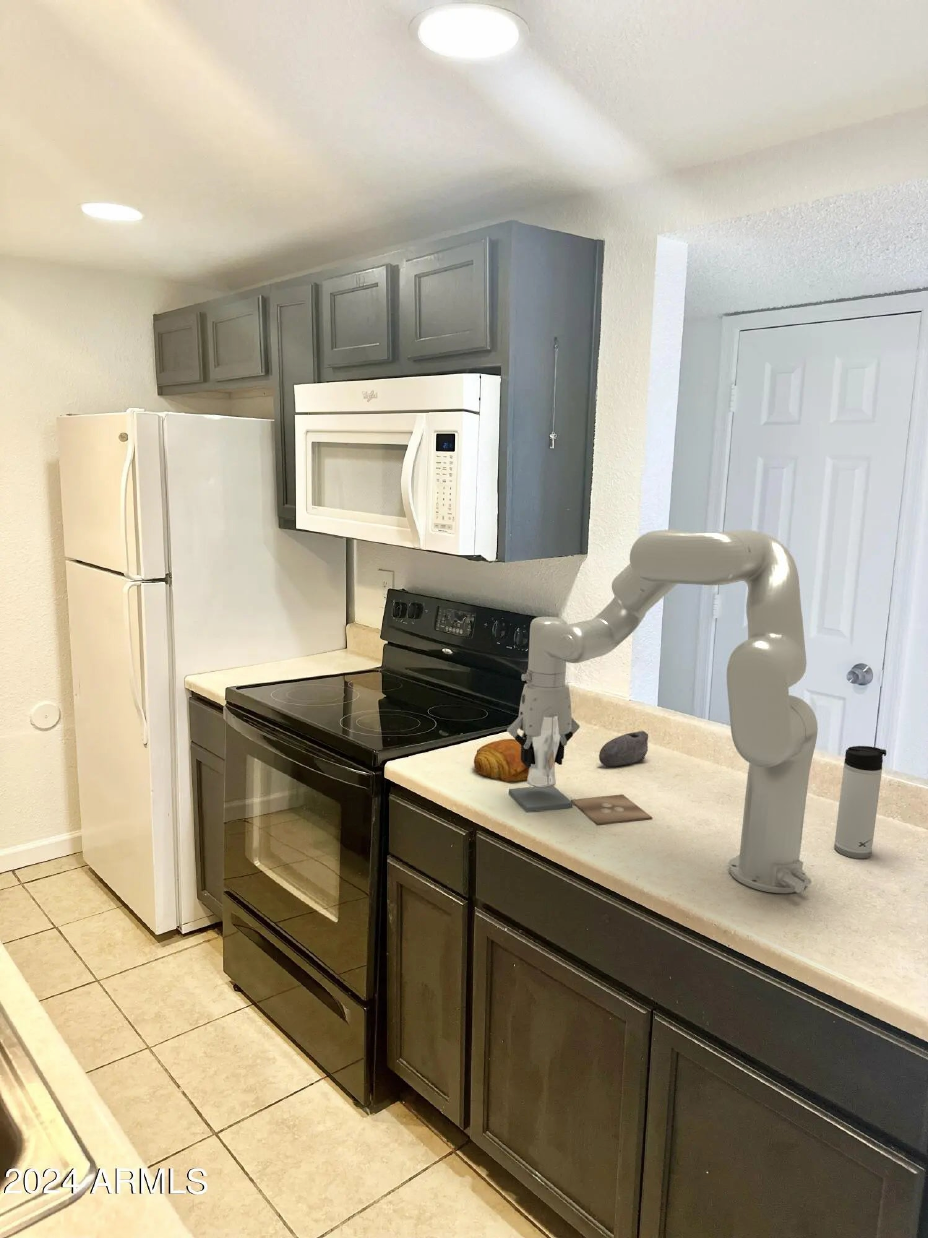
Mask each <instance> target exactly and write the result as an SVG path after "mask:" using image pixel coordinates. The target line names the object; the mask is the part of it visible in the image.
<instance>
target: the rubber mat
mask: <svg viewBox="0 0 928 1238" xmlns="http://www.w3.org/2000/svg"><path fill="white" fill-rule="evenodd" d="M508 795H509V796H510V797H512V799H513V800H514V801H515V802H516V803H517V804H518V805H519V806H520V807H521V808H522V809H523V810H524V811H525V812H526V813H534V812H543V811H544V812H545V811H553V810H561V809H563V810H564V809H571V808H573V805H574V804H573V803H572V802H571V799H569V798H568V797H567V796H566V795H564V794H563V792H561V791H560V790H559V789H558V788H557V787H555V785H554V786H552V787H548V788H539V787H534V786H527V787H515V788H508Z"/></svg>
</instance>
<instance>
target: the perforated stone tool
mask: <svg viewBox="0 0 928 1238" xmlns="http://www.w3.org/2000/svg"><path fill="white" fill-rule="evenodd" d="M648 740H649V733H647V732H646V731H644V730H641V731H640V730H639V731H636V732H634V731H633V732H630V733H629V732H628V733H625V734H622V735H620V736H617V737H615V738H612V739H610V740H609V741H608V742H606V743H605V744H603V746H602V747H601V749H600V751H599V755H598V760H599V761H600V764H602V765H603V766H606V767H617V766H625V765H630V764H631V765H632V764H635V763H638V762H639V761H643V760H645V759H646V757H645V756H646V755H647V753H648V752H649V750H648V749H649V746H648Z"/></svg>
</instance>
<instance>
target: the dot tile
mask: <svg viewBox="0 0 928 1238" xmlns="http://www.w3.org/2000/svg"><path fill="white" fill-rule="evenodd" d="M570 801H571V802H572V803H573V805H574V806H575V807H576V808H578V810H580V811H581V813H583V814H584V815H585V816H586V817H587V818H588V819H590V820H591V821H592V822H593V823H594V824H595V825H597V826H602V825H603V826H604V825H610V824H620V823H629V822H638V821H639V822H640V821H646V820H647V821H648V820H653V817H652V816H651V815H650V814H649V813H647V812H646V811H645V810H643V809H642V808H641V807H640V806H638V804H636V803H635V802H633V801H632V800H630V799H629V798H628V797H627V796H626V795H624V794H614V795H613V794H612V795H611V794H610V795H603V796H593V797H592V796H591V797H584V798H583V797H582V798H574V799H572V798H571V799H570Z"/></svg>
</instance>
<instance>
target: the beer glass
mask: <svg viewBox="0 0 928 1238" xmlns="http://www.w3.org/2000/svg"><path fill="white" fill-rule="evenodd" d="M557 717H558V716H550V717H546V716H544V720H543V722H542V723H543V724H542V728H541V735H540V736H538V737H532V742H531V744H530V748H531V749H532V757H531V767H529V770H528V774H527V779H526V780H525V781H526V784H527V785H529V786H530V787H539V788H548V787H552V786H554V787H555V785H556V783H557V779H556V778H557V777H556V769H555V768H556V757H557V753H558V749H559V744H560V739H561V735H559V728H558V718H557Z"/></svg>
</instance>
